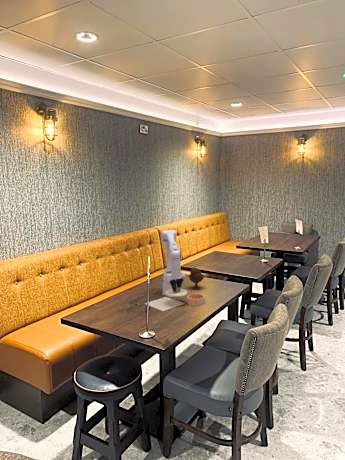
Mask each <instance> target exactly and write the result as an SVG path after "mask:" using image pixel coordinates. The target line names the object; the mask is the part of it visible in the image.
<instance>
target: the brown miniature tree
mask: <svg viewBox="0 0 345 460" xmlns="http://www.w3.org/2000/svg"><path fill="white" fill-rule="evenodd" d="M189 273H190V274H188V279H189V280H190V281H191V283H194V286H192V289H193V290H200V289H201V287H200V286H198V283H201V282H202V281H203V280H204V277H205V275H204V274H203V273H202V271H201V270H200V269H198V268H197V267H193V268H191V269H190V271H189Z"/></svg>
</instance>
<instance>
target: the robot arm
mask: <svg viewBox="0 0 345 460" xmlns="http://www.w3.org/2000/svg"><path fill="white" fill-rule="evenodd" d="M176 239H177V231H176V229H164V230H163V229H162V230H161V231H160V240H161V241H160V242H161V244H163V245H164V249H165V260H166V268H165V269H164V270H163V271H162V273H163V278H162V279H163V282H162V293H161V295H164V296H165V297H168V298H173V297H174V296H168V295H166V294H165V291H166V290H169V289H173V291H174V292H176V286H177V287H180V289H182V284H183V282H184V278H186V273H181V272H182V271H181V270H182V269H181V267H182V266H181V260H182V256H183V255H182V250H181V249H180V248H179V245H178V243H176Z"/></svg>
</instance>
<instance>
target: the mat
mask: <svg viewBox="0 0 345 460" xmlns="http://www.w3.org/2000/svg"><path fill="white" fill-rule="evenodd" d="M148 302H149V305H147V303H148ZM148 302H145V303H144V305H147V306H149V307H152V308H154V309H157V310H159V311H161V312H165V311H167V310H170V309H174V308H176V307H179V306H182V305H184V304H186V303H185V302H183V301H179V300H177V299H173V298H172V297H169V296H164V297H160V298H158V299H154V300H151V301H148Z"/></svg>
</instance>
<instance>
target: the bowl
mask: <svg viewBox="0 0 345 460" xmlns="http://www.w3.org/2000/svg"><path fill="white" fill-rule="evenodd" d="M186 303H187V304H188V305H189V306H194V307H199V306H203V305H206V295H205V294H202V293H190V294H187V295H186Z"/></svg>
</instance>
